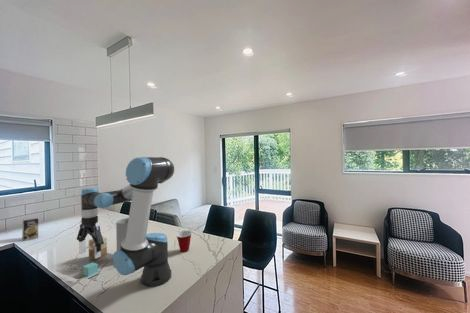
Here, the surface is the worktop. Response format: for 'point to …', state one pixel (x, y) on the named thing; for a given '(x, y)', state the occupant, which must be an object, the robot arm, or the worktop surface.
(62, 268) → the worktop surface
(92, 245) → the beech block
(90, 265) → the teal block
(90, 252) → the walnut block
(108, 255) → the slate board
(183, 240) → the plastic cup
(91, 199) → the robot arm
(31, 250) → the worktop surface
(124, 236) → the cylinder vase
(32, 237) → the coffee box
